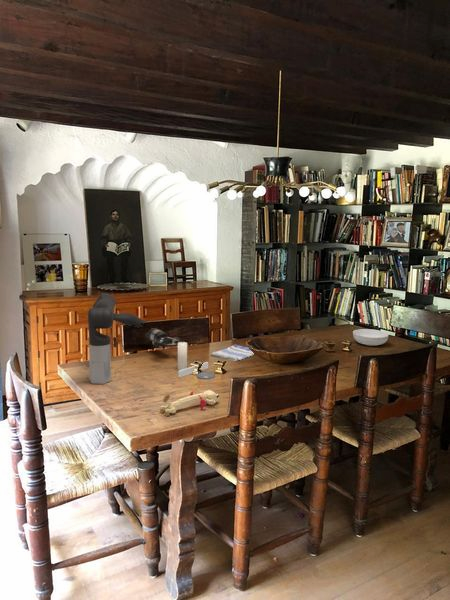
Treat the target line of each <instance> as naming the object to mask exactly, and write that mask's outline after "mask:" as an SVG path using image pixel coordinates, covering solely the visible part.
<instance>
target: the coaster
mask: <svg viewBox="0 0 450 600" xmlns="http://www.w3.org/2000/svg"><path fill="white" fill-rule="evenodd" d="M200 372H201V373H200ZM200 372H198V373H199V374H197V373H196V374H195V375H196V378H197V379H201V380H212V379H214V377H215V378H216V373H214V372H211V371H200ZM211 378H212V379H211Z"/></svg>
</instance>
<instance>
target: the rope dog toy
mask: <svg viewBox="0 0 450 600" xmlns="http://www.w3.org/2000/svg"><path fill="white" fill-rule="evenodd" d="M170 397H171V396H170V394H169V393H168V394H165V396H164V397H163V399H162V401H163V403H164V404H166V405H161V406H160V408H159V409H160V413H161V414H164V415H165V417H169V416H170V415H171V414H175V413H176V412H177V411H178V410H181V409H183V408H186V407H188V406H191V405H194V404H195V405H196V404H199V403H200V408H201V409H200V410H202V409H203V408H204V407H206V406H207V404H208V405H210V406H213V405H215V404H216V403H217V401H218V400H219V399H220V394H218V393H216V392H215V391H213V390H212V389H208V390H204V391H203V392H200V393H196V394H195V391H191V392H190V393H189V395H188V396H185V397H182V398H179V399H177V400H175V401H172V402H171V401H169V399H170Z"/></svg>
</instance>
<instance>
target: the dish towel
mask: <svg viewBox="0 0 450 600" xmlns="http://www.w3.org/2000/svg"><path fill="white" fill-rule="evenodd" d="M249 348H250V347H247V346H243V345H238V344H233V345H231V346H229V347H227V348H222V349H219V350H217V351H213V352H211V356H213V357H215V358H220V359H223V360H227V359H228V361H231V360H232V362H235V361H237V362H239V361H238V360H240V361H243V360H246V359H248V358H251V357H252V356H255V355H254V353H253V352H252V351H251V350H250V349H249ZM250 356H251V357H250ZM247 357H248V358H247ZM245 358H246V359H245ZM242 359H243V360H242Z"/></svg>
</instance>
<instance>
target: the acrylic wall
mask: <svg viewBox="0 0 450 600" xmlns="http://www.w3.org/2000/svg"><path fill="white" fill-rule="evenodd" d="M202 363H203V364H202ZM202 363H201V364H202V366H201V368H200V369H201V371H204V370H206V369H209V362H208V361H205V362H202ZM194 369H195V365H193V366H189V367H187V368H186V369H183V370H178V371H177V373H178V374H177V375H178V376H177V377H178V378H182V377H184V376H188V375H191V374H193V373H192V372H193V370H194Z"/></svg>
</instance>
